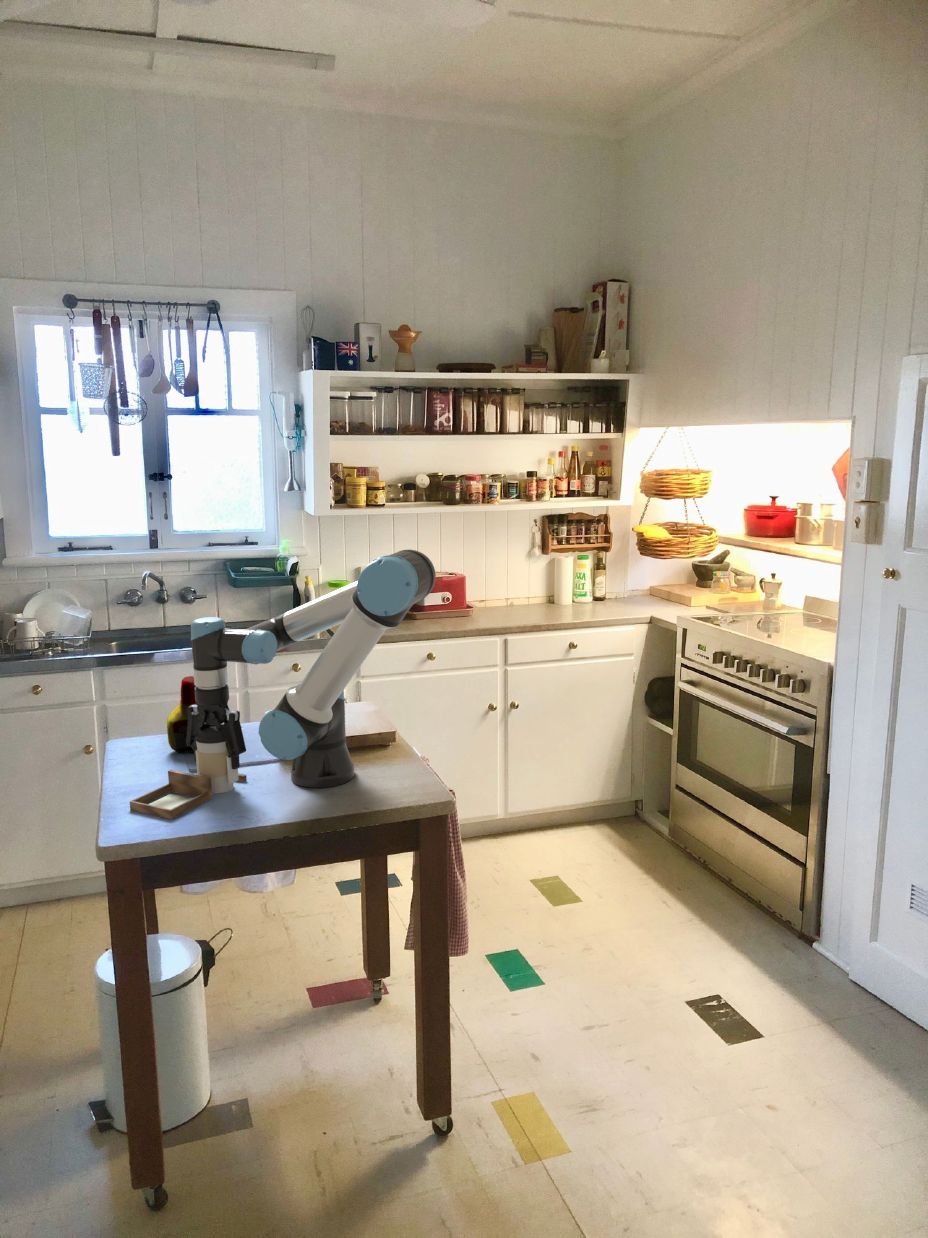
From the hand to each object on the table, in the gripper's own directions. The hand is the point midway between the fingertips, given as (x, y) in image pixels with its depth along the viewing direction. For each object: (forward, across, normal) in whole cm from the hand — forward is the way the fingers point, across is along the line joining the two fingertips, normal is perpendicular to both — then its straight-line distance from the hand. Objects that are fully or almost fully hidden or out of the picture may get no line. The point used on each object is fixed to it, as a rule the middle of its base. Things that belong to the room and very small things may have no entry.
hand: (217, 778), depth 222 cm
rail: (+2, +3, -6) cm, 7 cm away
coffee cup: (+3, 0, 0) cm, 3 cm away
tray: (+2, +3, +12) cm, 13 cm away
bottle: (+3, +24, -18) cm, 30 cm away
